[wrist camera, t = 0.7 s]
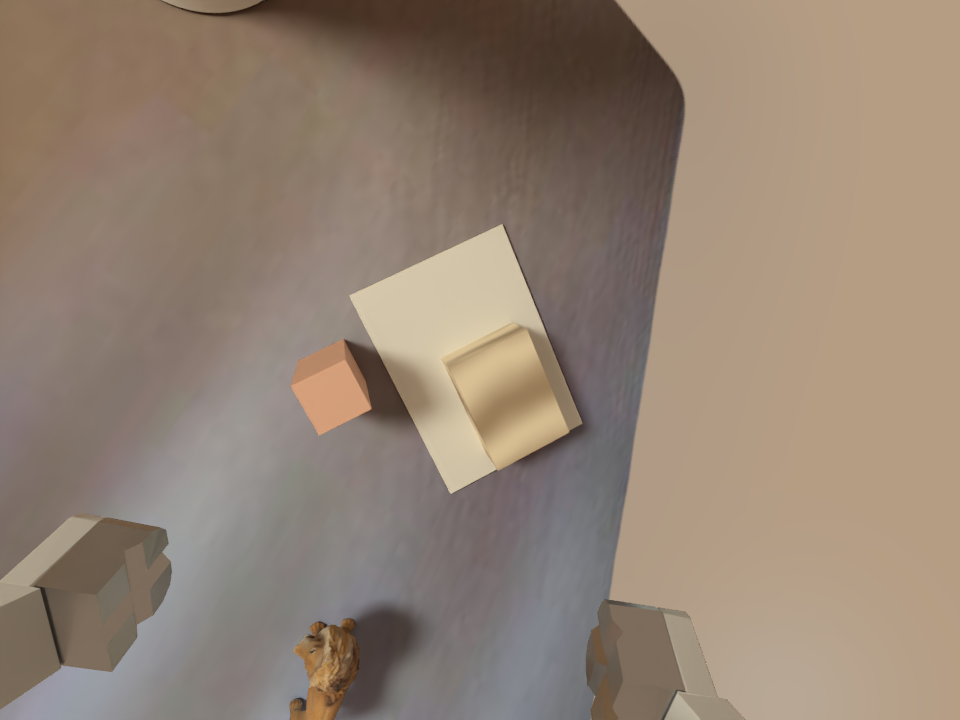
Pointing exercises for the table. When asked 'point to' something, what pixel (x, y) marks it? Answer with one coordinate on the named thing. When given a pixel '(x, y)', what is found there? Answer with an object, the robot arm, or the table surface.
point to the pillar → (331, 387)
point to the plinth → (506, 394)
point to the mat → (453, 341)
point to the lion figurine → (326, 669)
